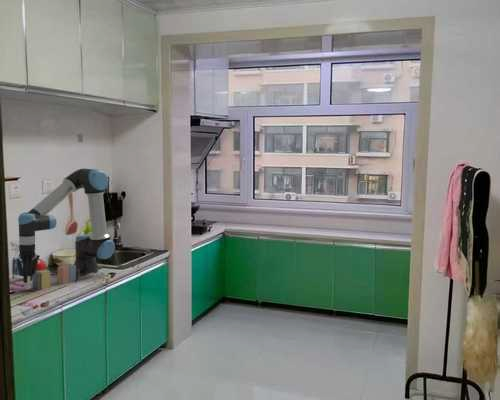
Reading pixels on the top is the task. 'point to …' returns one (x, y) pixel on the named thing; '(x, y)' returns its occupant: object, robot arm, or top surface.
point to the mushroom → (40, 265)
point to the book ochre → (44, 279)
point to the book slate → (72, 272)
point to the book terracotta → (63, 274)
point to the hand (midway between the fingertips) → (27, 288)
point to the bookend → (35, 282)
